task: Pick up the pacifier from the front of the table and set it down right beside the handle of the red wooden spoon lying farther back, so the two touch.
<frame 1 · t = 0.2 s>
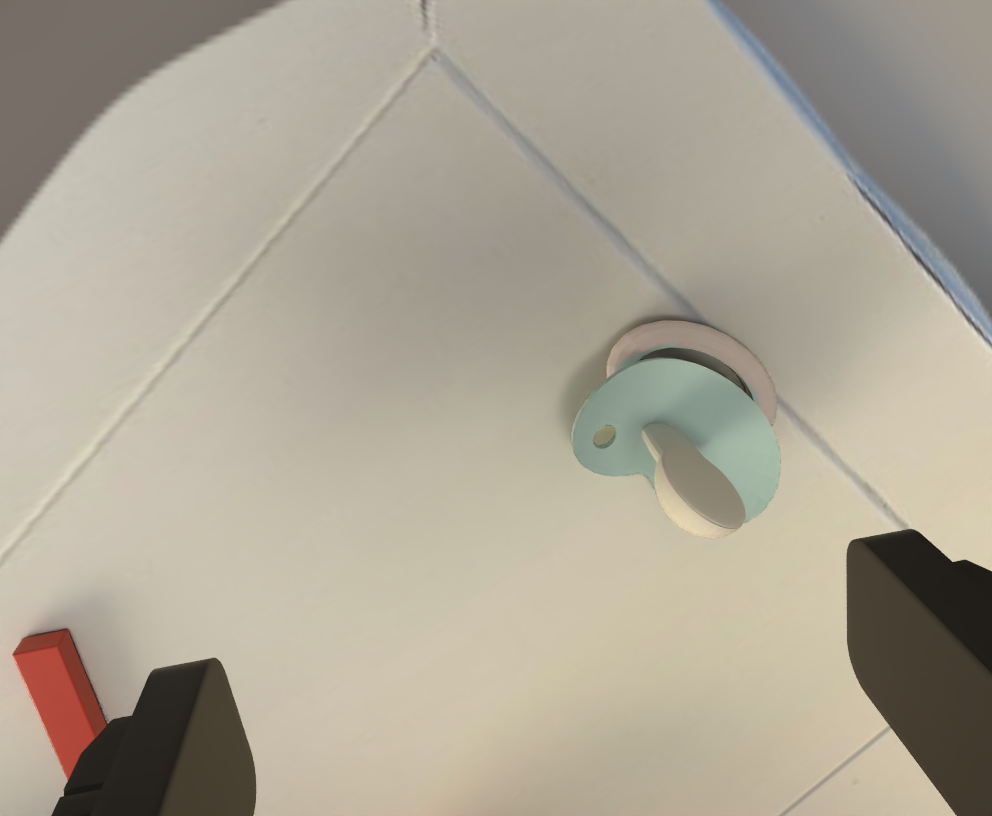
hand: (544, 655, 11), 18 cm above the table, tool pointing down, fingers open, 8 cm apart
spoon: (117, 804, 34), on the table
pacifier: (673, 404, 31), on the table
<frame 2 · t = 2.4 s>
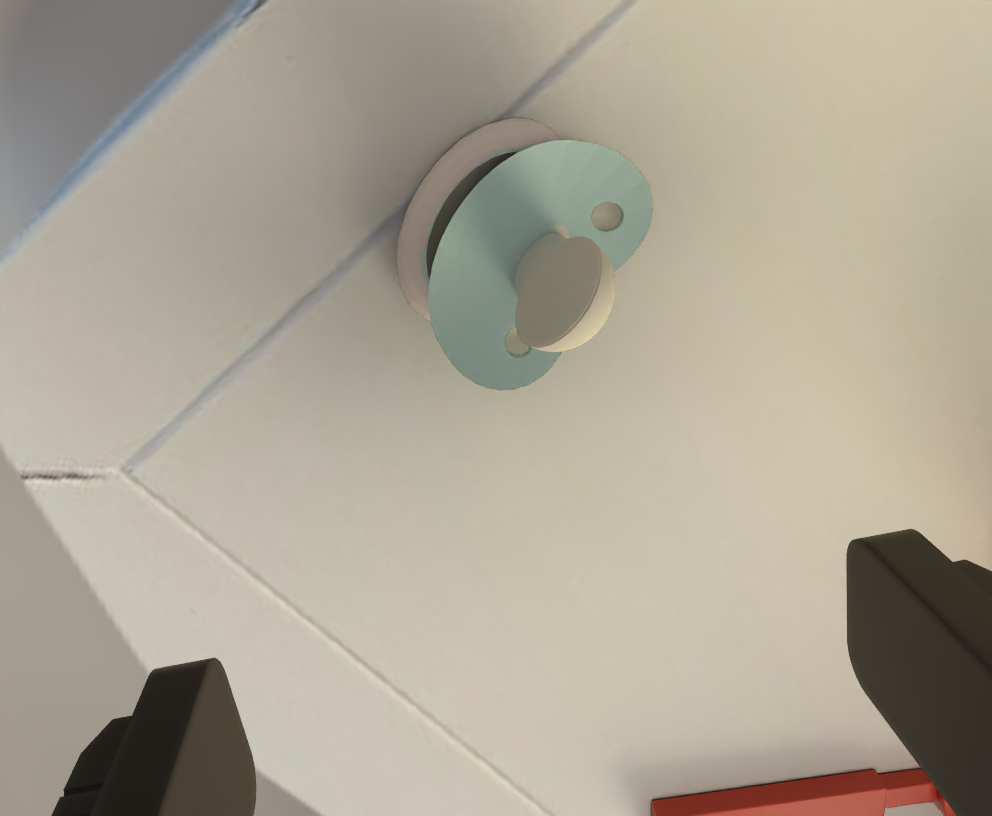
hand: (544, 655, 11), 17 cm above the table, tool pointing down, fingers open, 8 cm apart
spoon: (849, 787, 35), on the table
pacifier: (506, 236, 26), on the table
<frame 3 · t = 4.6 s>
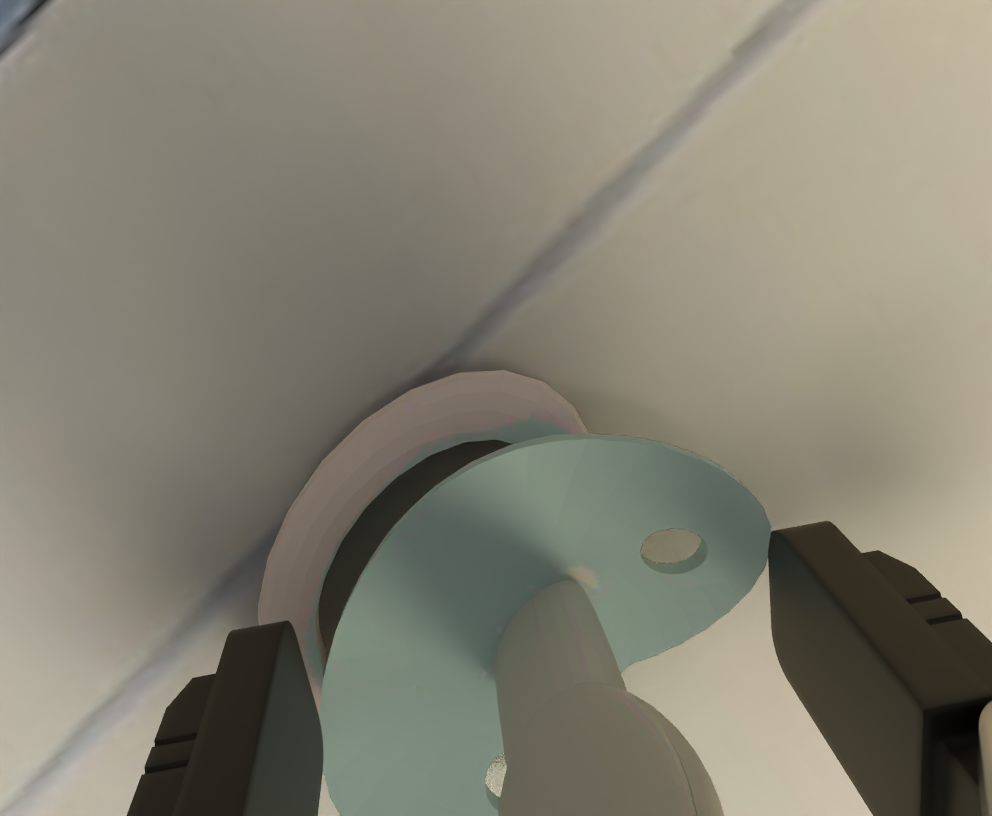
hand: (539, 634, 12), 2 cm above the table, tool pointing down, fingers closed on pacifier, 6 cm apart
pacifier: (473, 564, 14), on the table, touching gripper
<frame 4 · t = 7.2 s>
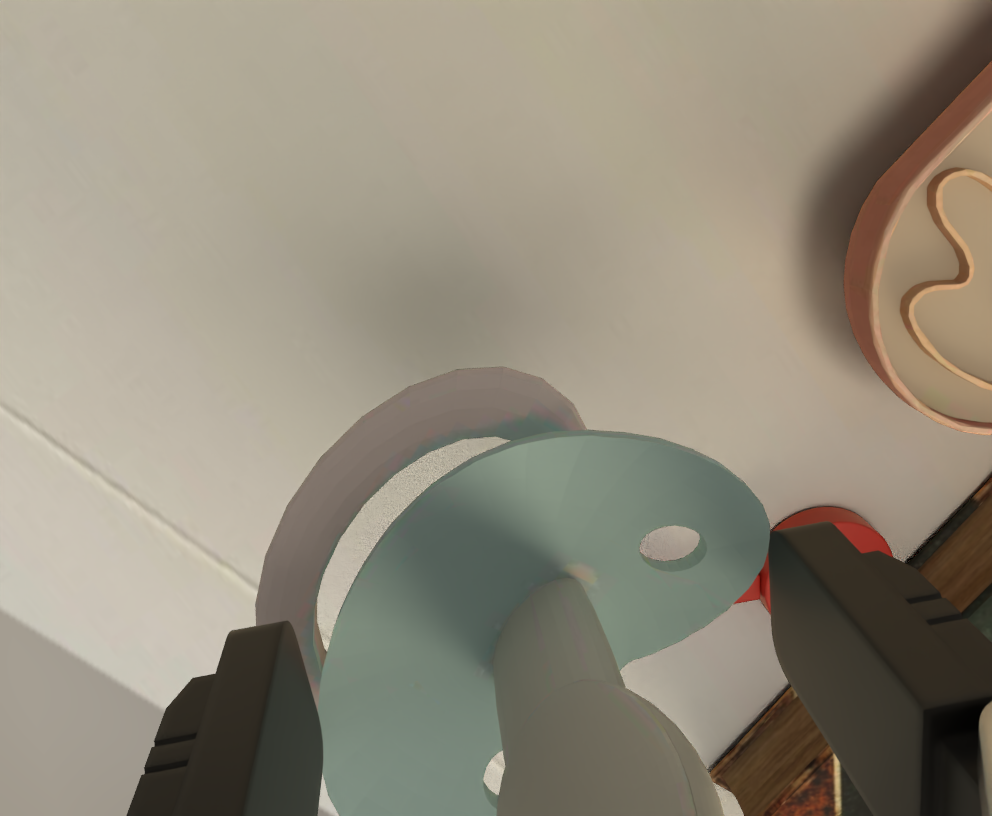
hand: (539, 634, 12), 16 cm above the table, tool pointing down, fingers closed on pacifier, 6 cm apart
spoon: (663, 590, 31), on the table
pacifier: (472, 562, 14), point 14 cm above the table, touching gripper
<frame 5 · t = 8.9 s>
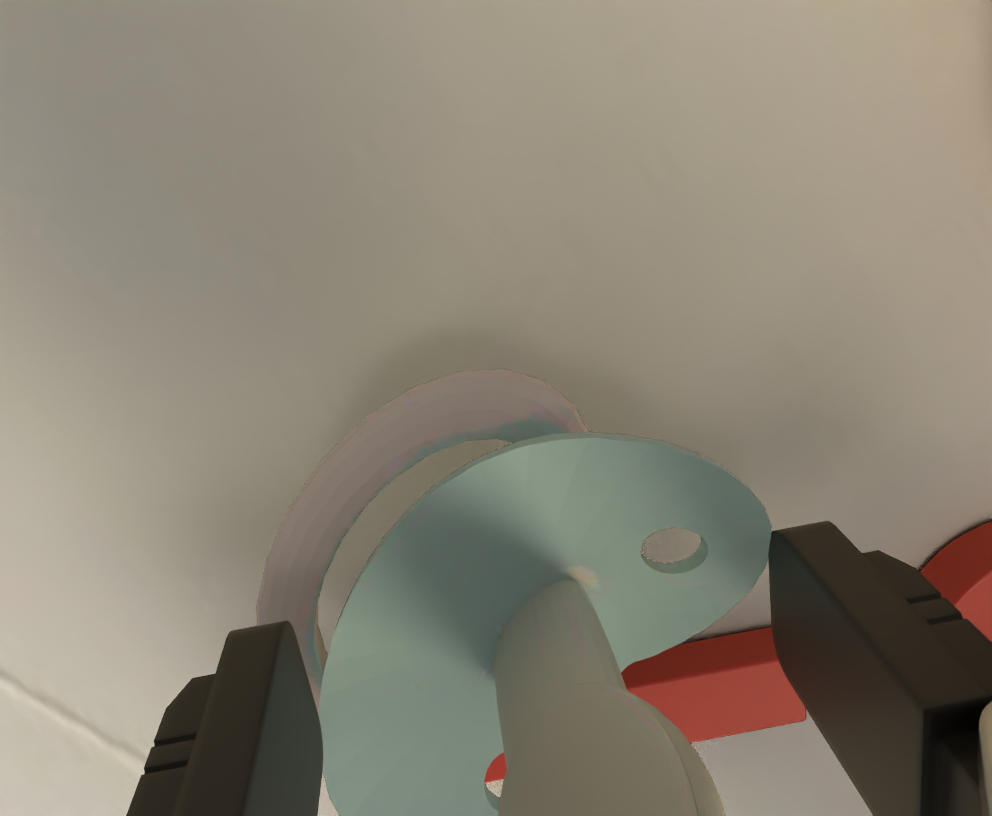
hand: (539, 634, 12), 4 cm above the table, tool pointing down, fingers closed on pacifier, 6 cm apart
spoon: (736, 665, 18), on the table
pacifier: (473, 564, 14), point 2 cm above the table, touching gripper
when the fingers open (2 cm above the table, at t = 10.2 s): pacifier stays where it is, on the table.
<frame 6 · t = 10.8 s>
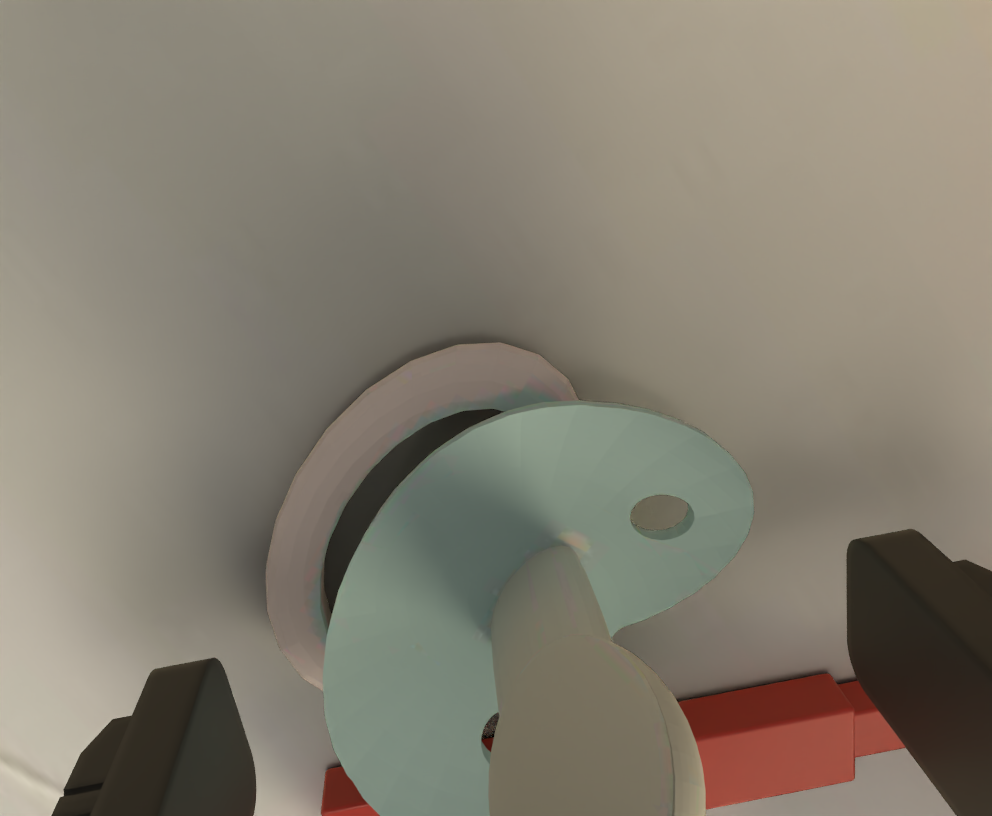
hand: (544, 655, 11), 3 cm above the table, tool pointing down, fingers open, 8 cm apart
spoon: (776, 716, 16), on the table
pacifier: (472, 532, 14), on the table
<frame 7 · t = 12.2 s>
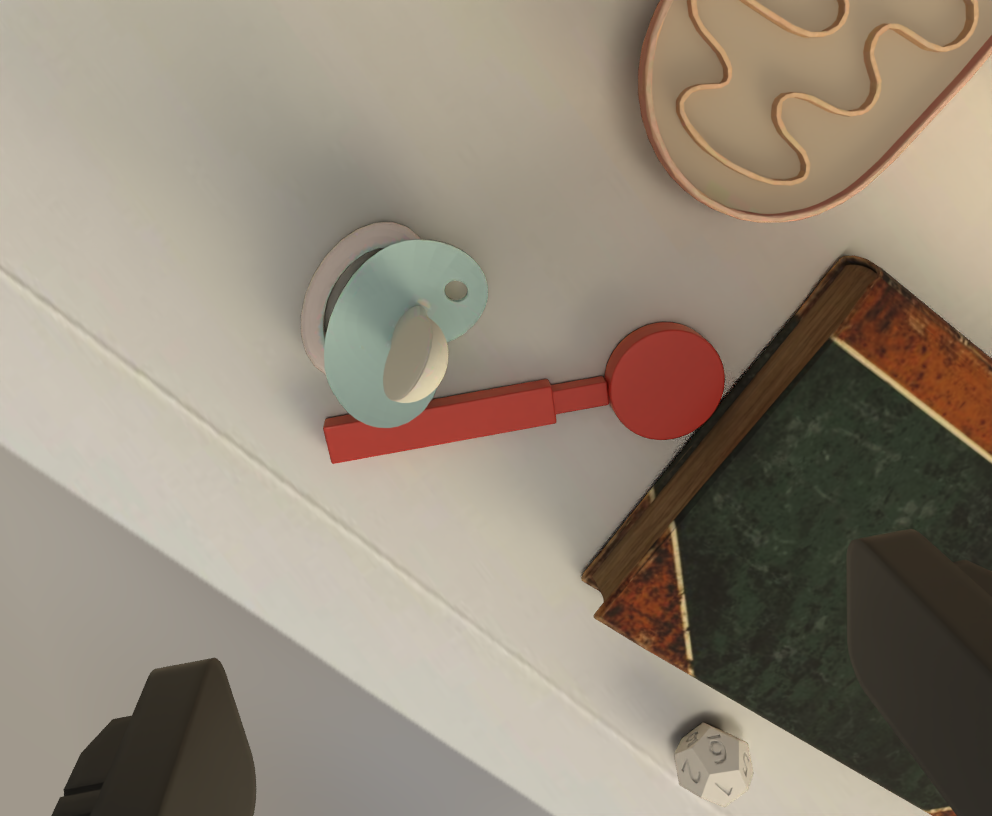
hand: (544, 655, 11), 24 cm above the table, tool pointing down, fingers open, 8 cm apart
spoon: (526, 400, 36), on the table
book: (904, 559, 40), on the table
pacifier: (386, 308, 34), on the table
game die: (702, 738, 43), on the table
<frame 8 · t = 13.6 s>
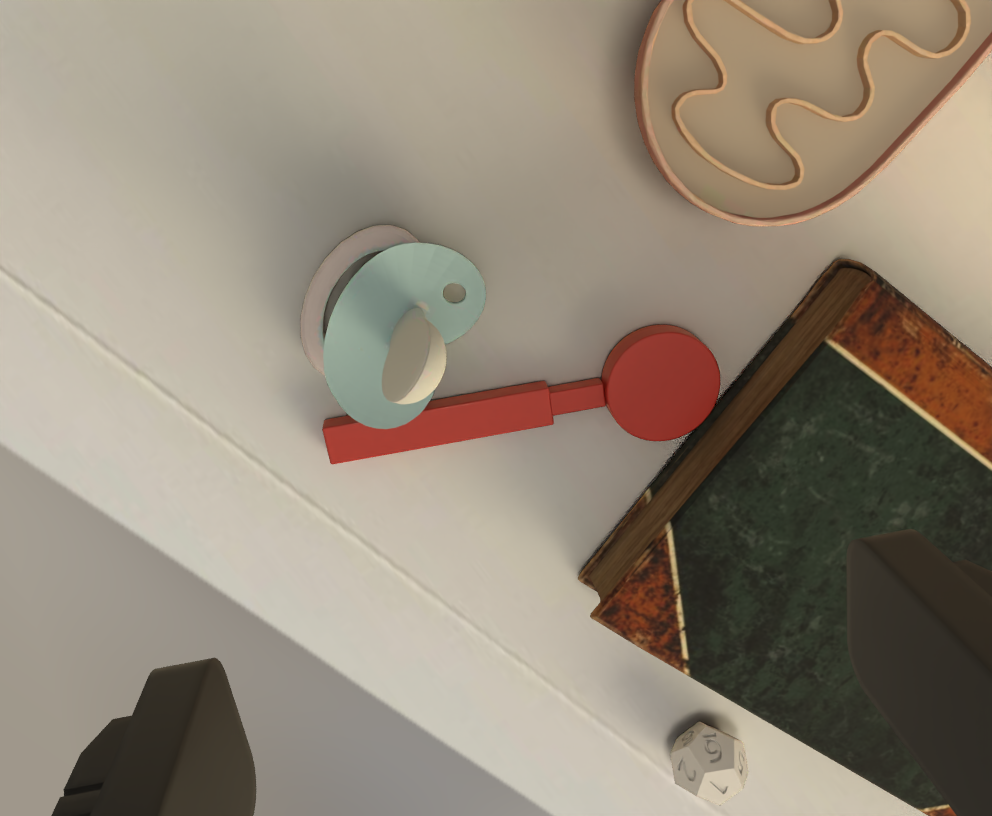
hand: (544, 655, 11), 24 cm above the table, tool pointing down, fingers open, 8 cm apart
spoon: (523, 402, 36), on the table
book: (898, 559, 41), on the table
pacifier: (385, 310, 34), on the table
game die: (698, 737, 43), on the table
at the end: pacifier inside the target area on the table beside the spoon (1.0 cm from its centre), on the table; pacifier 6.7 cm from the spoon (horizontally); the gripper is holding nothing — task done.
